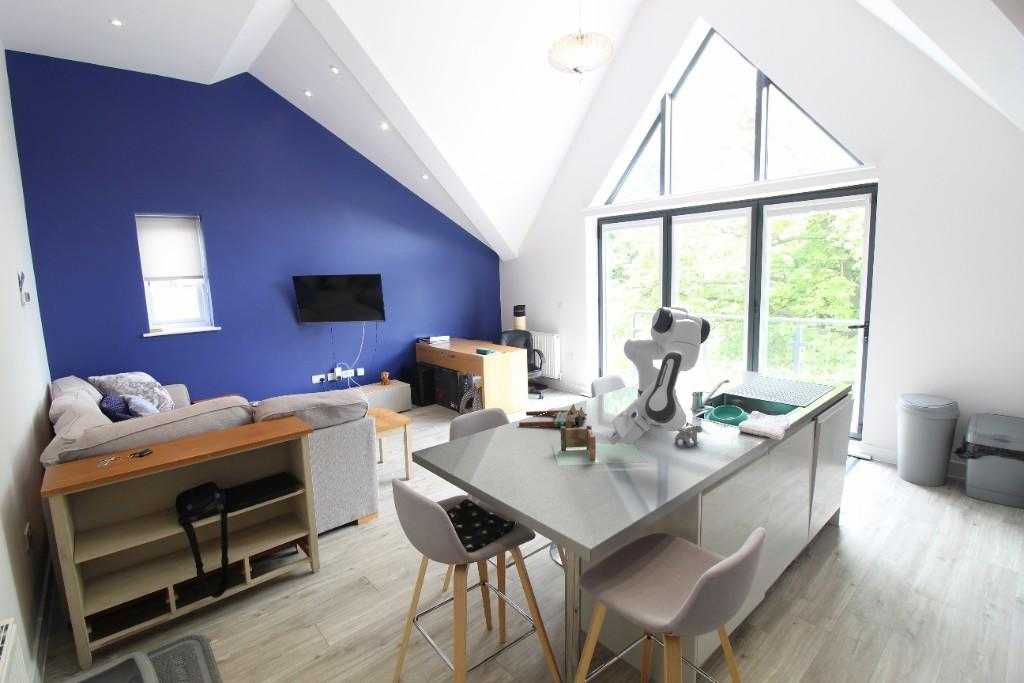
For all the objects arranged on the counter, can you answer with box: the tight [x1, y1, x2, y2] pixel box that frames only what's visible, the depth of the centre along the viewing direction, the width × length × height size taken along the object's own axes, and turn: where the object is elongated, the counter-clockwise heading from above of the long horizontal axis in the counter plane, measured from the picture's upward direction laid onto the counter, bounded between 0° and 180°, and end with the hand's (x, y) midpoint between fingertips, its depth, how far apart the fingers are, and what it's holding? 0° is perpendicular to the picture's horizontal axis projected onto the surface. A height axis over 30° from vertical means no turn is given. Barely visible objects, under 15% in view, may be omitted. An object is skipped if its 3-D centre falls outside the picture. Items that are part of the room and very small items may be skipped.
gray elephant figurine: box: [674, 421, 703, 448], centre depth 193 cm, size 9×12×8 cm
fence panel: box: [588, 429, 597, 460], centre depth 180 cm, size 11×2×9 cm, turn 177°
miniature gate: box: [518, 403, 588, 429], centre depth 226 cm, size 27×6×30 cm
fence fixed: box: [560, 425, 593, 451], centre depth 187 cm, size 12×2×9 cm, turn 92°
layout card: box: [554, 442, 648, 467], centre depth 183 cm, size 32×20×1 cm, turn 92°
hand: (610, 442), depth 177 cm, fingers closed
